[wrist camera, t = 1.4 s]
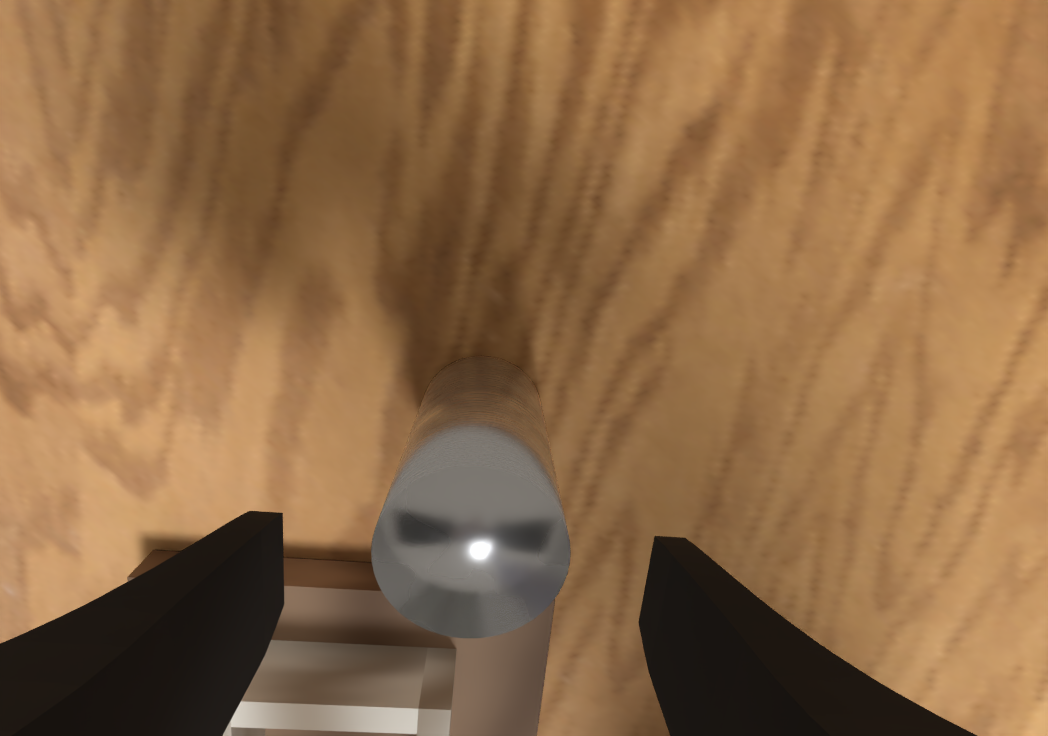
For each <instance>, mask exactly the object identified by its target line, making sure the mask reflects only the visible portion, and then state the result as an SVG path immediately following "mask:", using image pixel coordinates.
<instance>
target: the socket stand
mask: <svg viewBox="0 0 1048 736" xmlns="http://www.w3.org/2000/svg"><path fill="white" fill-rule="evenodd" d="M177 553H179V552H177V551H160V550H153V551H152V552H151V553H150V554H149V555H148V557H147V558H146V559H145V560H144V561H143V562H142V563H141V564H140V565H139V566H138V567H137V568H136V569H135V570H134V571H133V572H132V573H131V574H130V575H129V576H128V577H127V578H128V581H130V580H132V579H134V578H136V577H137V576H139V575H141V574H143V573H145V572H147V571H148V570H150V569H152V568H154V567H156V566H157V565H159V564H161V563H162V562H164V561H166V560H167V559H169V558H171V557H172V556H174V555H176V554H177ZM283 559H284V607H283V610H282V612H281V615H280V618H279V620H278V623H277V626H276V629H275V631H274V634H273V636H272V639H271V641H270V644H269V647H268V649H267V652H266V654H265V656H264V658H263V660H262V662H261V664H260V666H259V668H258V670H257V672H256V674H255V676H254V677H253V679H252V681H251V683H250V685H249V687H248V689H247V691H246V693H245V695H244V696H243V698H242V700H241V702H240V704H239V706H238V708H237V710H236V711H235V713H234V715H233V717H232V719H231V721H230V723H229V724H228V726H227V728H226V730H225V732H224V734H223V736H537V730H538V723H539V715H540V708H541V701H542V693H543V686H544V678H545V671H546V663H547V656H548V649H549V641H550V634H551V626H552V619H553V612H554V604H555V599H554V600H553V601H552V603H551V604H550V605H549V606H548V607H547V608H546V609H545V610H544V611H543V612H542V613H541V614H539V615H538V616H537V617H536V618H534V619H533V620H531V621H530V622H528V623H527V624H525V625H523V626H521V627H519V628H517V629H515V630H513V631H510V632H507V633H504V634H501V635H496V636H492V637H485V638H455V637H449V636H445V635H440V634H437V633H434V632H431V631H428V630H426V629H424V628H422V627H420V626H418V625H416V624H414V623H413V622H411V621H410V620H408V619H407V618H405V617H404V616H403V615H402V614H400V613H399V612H398V611H397V610H396V609H395V608H394V607H393V606H392V605H391V604H390V602H389V601H388V600H387V598H386V597H385V596H384V594H383V592H382V591H381V589H380V587H379V585H378V583H377V580H376V577H375V574H374V571H373V566H372V563H367V562H349V561H332V560H315V559H298V558H283Z"/></svg>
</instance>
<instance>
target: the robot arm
mask: <svg viewBox="0 0 1048 736" xmlns="http://www.w3.org/2000/svg"><path fill="white" fill-rule="evenodd" d="M283 607H284V559H283V513H275V512H259V511H248V512H247V513H245V514H243V515H241V516H239V517H237V518H235V519H234V520H232V521H230V522H229V523H227V524H225V525H224V526H222V527H220V528H219V529H217V530H215V531H214V532H212V533H210V534H209V535H207V536H206V537H204V538H202V539H201V540H199V541H197V542H196V543H194V544H192V545H191V546H189V547H187V548H186V549H184V550H182V551H181V552H179V553H177V554H176V555H174V556H172V557H171V558H169V559H167V560H166V561H164V562H162V563H161V564H159V565H157V566H156V567H154V568H152V569H150V570H148V571H147V572H145V573H143V574H141V575H139V576H137V577H136V578H134V579H132V580H130V581H128V582H127V583H125V584H123V585H121V586H119V587H117V588H116V589H114V590H112V591H110V592H108V593H106V594H105V595H103V596H101V597H99V598H97V599H95V600H93V601H91V602H89V603H88V604H86V605H84V606H82V607H80V608H78V609H75V610H73V611H71V612H69V613H67V614H65V615H63V616H61V617H59V618H57V619H55V620H52V621H50V622H48V623H46V624H44V625H42V626H39V627H37V628H35V629H33V630H31V631H28V632H26V633H24V634H22V635H20V636H17V637H15V638H13V639H10V640H8V641H6V642H3V643H1V644H0V736H223V734H224V732H225V730H226V728H227V726H228V724H229V723H230V721H231V719H232V717H233V715H234V713H235V711H236V710H237V708H238V706H239V704H240V702H241V700H242V698H243V696H244V695H245V693H246V691H247V689H248V687H249V685H250V683H251V681H252V679H253V677H254V676H255V674H256V672H257V670H258V668H259V666H260V664H261V662H262V660H263V658H264V656H265V654H266V652H267V649H268V647H269V644H270V641H271V639H272V636H273V634H274V631H275V629H276V626H277V623H278V620H279V618H280V615H281V612H282V610H283ZM639 627H640V632H641V637H642V642H643V647H644V652H645V657H646V661H647V666H648V670H649V674H650V677H651V680H652V683H653V686H654V689H655V692H656V695H657V698H658V701H659V704H660V707H661V710H662V713H663V716H664V718H665V721H666V724H667V727H668V730H669V733H670V736H977V735H975V734H973V733H971V732H969V731H967V730H965V729H963V728H961V727H959V726H957V725H955V724H953V723H951V722H949V721H947V720H945V719H943V718H942V717H940V716H938V715H936V714H934V713H932V712H931V711H929V710H927V709H925V708H923V707H921V706H920V705H918V704H916V703H914V702H912V701H911V700H909V699H907V698H905V697H903V696H902V695H900V694H898V693H896V692H894V691H893V690H891V689H889V688H888V687H886V686H884V685H883V684H881V683H879V682H878V681H876V680H874V679H873V678H871V677H869V676H868V675H866V674H865V673H863V672H862V671H860V670H858V669H857V668H855V667H854V666H852V665H851V664H849V663H847V662H846V661H844V660H843V659H841V658H840V657H838V656H837V655H835V654H833V653H832V652H830V651H829V650H828V649H826V648H825V647H823V646H822V645H820V644H819V643H817V642H816V641H815V640H813V639H812V638H810V637H809V636H808V635H806V634H805V633H804V632H802V631H801V630H800V629H798V628H797V627H795V626H794V625H793V624H791V623H790V622H789V621H787V620H786V619H785V618H783V617H782V616H781V615H779V614H778V613H777V612H776V611H774V610H773V609H772V608H770V607H769V606H768V605H767V604H765V603H764V602H763V601H762V600H760V599H759V598H758V597H757V596H755V595H754V594H753V593H752V592H750V591H749V590H748V589H747V588H746V587H744V586H743V585H742V584H741V583H740V582H738V581H737V580H736V579H735V578H734V577H732V576H731V575H730V574H729V573H728V572H726V571H725V570H724V569H723V568H722V567H721V566H719V565H718V564H717V563H716V562H715V561H713V560H712V559H711V558H710V557H709V556H707V555H706V554H705V553H704V552H703V551H701V550H700V549H699V548H698V547H696V546H695V545H694V544H692V543H691V542H690V541H688V540H687V539H686V538H678V537H662V536H655V537H654V542H653V548H652V553H651V559H650V564H649V569H648V575H647V580H646V585H645V591H644V596H643V601H642V607H641V612H640V618H639Z"/></svg>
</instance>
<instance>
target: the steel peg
mask: <svg viewBox="0 0 1048 736" xmlns="http://www.w3.org/2000/svg"><path fill="white" fill-rule="evenodd" d="M371 556H372V566H373V571H374V574H375V577H376V580H377V583H378V585H379V587H380V589H381V591H382V592H383V594H384V596H385V597H386V598H387V600H388V601H389V602H390V604H391V605H392V606H393V607H394V608H395V609H396V610H397V611H398V612H399V613H400V614H402V615H403V616H404V617H405V618H407V619H408V620H410V621H411V622H413V623H414V624H416V625H418V626H420V627H422V628H424V629H426V630H428V631H431V632H434V633H437V634H440V635H445V636H449V637H455V638H485V637H492V636H496V635H501V634H504V633H507V632H510V631H513V630H515V629H517V628H519V627H521V626H523V625H525V624H527V623H528V622H530V621H531V620H533V619H534V618H536V617H537V616H538V615H539V614H541V613H542V612H543V611H544V610H545V609H546V608H547V607H548V606H549V605H550V604H551V603H552V601H553V600H554V599H555V597H556V596H557V595H558V593H559V591H560V589H561V587H562V586H563V584H564V581H565V578H566V576H567V573H568V568H569V564H570V540H569V535H568V531H567V526H566V521H565V516H564V511H563V507H562V502H561V497H560V492H559V487H558V483H557V478H556V473H555V468H554V463H553V458H552V454H551V449H550V444H549V439H548V434H547V430H546V425H545V420H544V415H543V410H542V406H541V401H540V397H539V394H538V392H537V389H536V387H535V386H534V384H533V382H532V381H531V380H530V378H529V377H528V376H527V375H526V374H525V373H524V372H523V371H522V370H521V369H519V368H518V367H517V366H515V365H513V364H511V363H510V362H507V361H505V360H503V359H499V358H496V357H489V356H474V357H468V358H464V359H461V360H458V361H455V362H454V363H452V364H450V365H448V366H447V367H445V368H444V369H442V370H441V371H440V372H439V373H438V374H437V375H436V376H435V377H434V379H433V380H432V381H431V383H430V384H429V386H428V388H427V390H426V392H425V395H424V397H423V400H422V403H421V406H420V408H419V411H418V414H417V416H416V419H415V422H414V425H413V427H412V430H411V433H410V435H409V438H408V441H407V444H406V446H405V449H404V452H403V454H402V457H401V460H400V463H399V465H398V468H397V471H396V473H395V476H394V479H393V482H392V484H391V487H390V490H389V492H388V495H387V498H386V501H385V503H384V506H383V509H382V512H381V514H380V517H379V520H378V522H377V525H376V528H375V531H374V535H373V539H372V548H371Z"/></svg>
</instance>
